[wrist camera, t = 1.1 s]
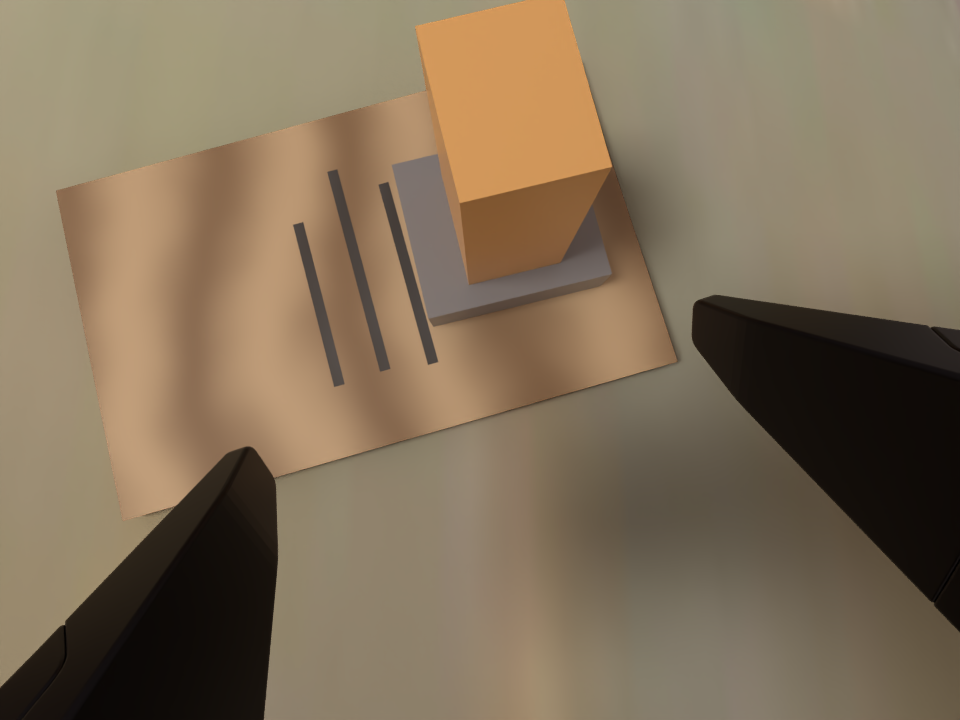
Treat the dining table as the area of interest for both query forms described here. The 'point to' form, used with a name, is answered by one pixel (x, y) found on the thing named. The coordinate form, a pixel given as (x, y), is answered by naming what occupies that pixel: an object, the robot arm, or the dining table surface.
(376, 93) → the dining table surface
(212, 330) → the board
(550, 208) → the sanding block
